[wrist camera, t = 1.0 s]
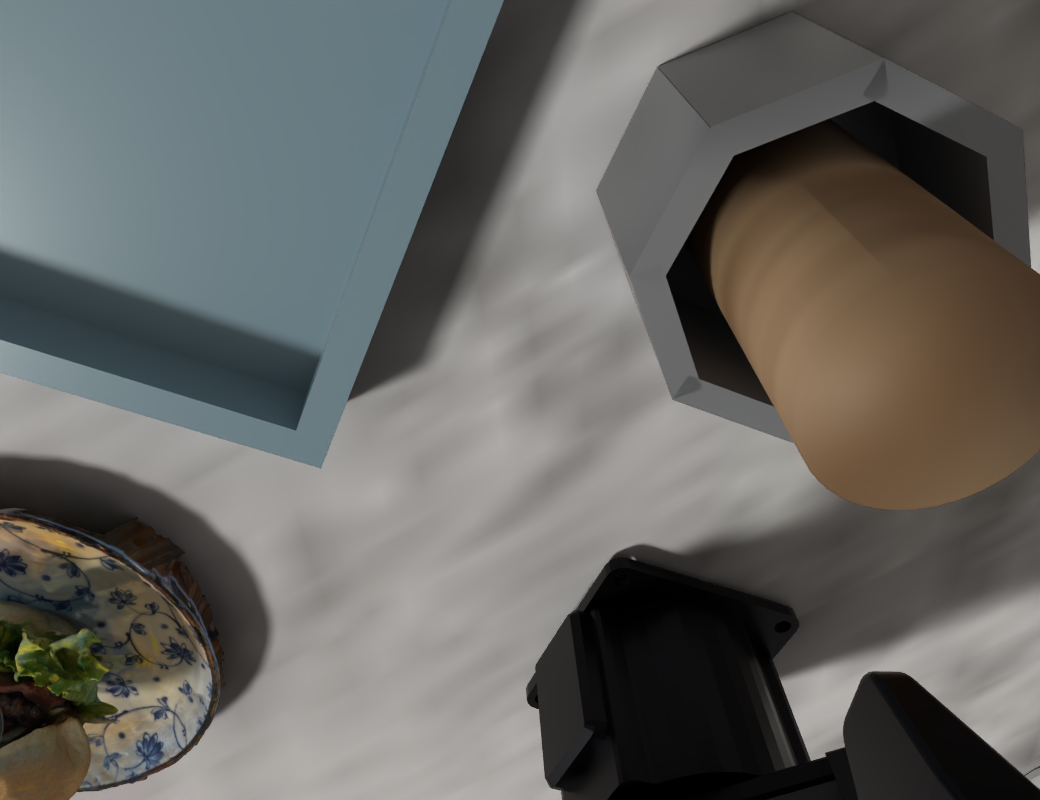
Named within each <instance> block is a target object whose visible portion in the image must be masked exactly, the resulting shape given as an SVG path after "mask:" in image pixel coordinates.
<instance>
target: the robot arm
mask: <svg viewBox="0 0 1040 800" xmlns="http://www.w3.org/2000/svg"><path fill="white" fill-rule="evenodd" d="M620 574H626V575H625V576H622V577H616V576H617V575H620ZM782 621H783V622H782ZM798 627H799V621H798V619H797V617H796V614H795V612H794V611H793V609H792V608H790V607H788V606H785V605H782V604H779V603H775V602H772V601H769V600H765V599H762V598H759V597H755V596H752V595H749V594H745V593H742V592H739V591H735V590H732V589H729V588H725V587H722V586H719V585H715V584H712V583H708V582H705V581H702V580H698V579H695V578H692V577H688V576H685V575H682V574H678V573H675V572H672V571H668V570H665V569H662V568H658V567H655V566H652V565H648V564H645V563H641V562H638V561H635V560H631V559H628V558H617V559H613V560H611V561H609V562H608V563H607V564H606V565H605V566H604V568H603V570H602V571H601V573H600V574H599V576H598V577H597V579H596V580H595V582H594V583H593V585H592V586H591V588H590V590H589V591H588V593H587V594H586V596H585V597H584V599H583V600H582V602H581V603H580V605H579V606H578V608H577V609H576V610H574V611H573V612H571V613H570V614H569V615H568V616H567V617H566V619H565V620H564V622H563V624H562V625H561V627H560V628H559V630H558V631H557V633H556V634H555V636H554V637H553V639H552V641H551V642H550V644H549V645H548V647H547V648H546V650H545V651H544V653H543V654H542V656H541V658H540V659H539V661H538V662H537V664H536V668H535V669H536V673H535V674H534V676H533V677H532V679H531V680H530V682H529V683H528V685H527V688H526V694H527V702H528V704H529V705H530V706H531V707H534V708H536V709H539V715H540V726H541V737H542V749H543V760H544V772H545V779H546V781H547V783H548V785H549V787H550V788H552V789H557V790H561V794H562V800H1040V789H1039V788H1038V787H1037V786H1036V785H1034V784H1033V783H1032V782H1031V781H1030V780H1029V779H1028V778H1026V777H1025V776H1024V775H1023V774H1022V773H1021V772H1020V771H1018V770H1017V769H1016V768H1015V767H1014V766H1013V765H1012V764H1010V763H1009V762H1008V761H1007V760H1006V759H1005V758H1004V757H1002V756H1001V755H1000V754H999V753H998V752H997V751H996V750H994V749H993V748H992V747H991V746H990V745H989V744H988V743H986V742H985V741H984V740H983V739H982V738H981V737H980V736H978V735H977V734H976V733H975V732H974V731H973V730H972V729H970V728H969V727H968V726H967V725H966V724H965V723H964V722H962V721H961V720H960V719H959V718H958V717H957V716H956V715H954V714H953V713H952V712H951V711H950V710H949V709H948V708H946V707H945V706H944V705H943V704H942V703H941V702H940V701H938V700H937V699H936V698H935V697H934V696H933V695H932V694H930V693H929V692H928V691H927V690H926V689H925V688H924V687H922V686H921V685H920V684H919V683H918V682H917V681H916V680H914V679H913V678H912V677H910V676H909V675H907V674H905V673H902V672H877V671H873V672H868V673H867V674H866V675H864V676H863V678H862V679H861V681H860V684H859V686H858V689H857V691H856V693H855V696H854V698H853V701H852V703H851V705H850V708H849V710H848V712H847V715H846V717H845V721H844V726H843V737H844V743H845V747H844V748H840V749H837V750H833V751H830V752H826V753H825V754H826V757H823V758H820V759H816V760H813V761H811V760H810V757H809V755H808V752H807V749H806V747H805V744H804V742H803V739H802V736H801V734H800V731H799V728H798V726H797V723H796V721H795V718H794V715H793V713H792V710H791V707H790V705H789V702H788V699H787V697H786V694H785V692H784V689H783V686H782V684H781V681H780V678H779V676H778V673H777V670H776V668H775V665H774V663H773V660H772V659H773V658H774V657H775V656H776V654H777V653H778V652H779V651H780V650H781V649H782V647H783V646H784V645H785V644H786V643H787V641H788V640H789V639H790V638H791V637H792V636H793V634H794V633H795V632H796V631H797V629H798ZM2 733H3V715H2V711H1V708H0V741H1V738H2Z"/></svg>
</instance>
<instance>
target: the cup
mask: <svg viewBox="0 0 1040 800" xmlns="http://www.w3.org/2000/svg"><path fill="white" fill-rule="evenodd" d="M827 119H831V120H832V121H834V122H835V123H836V124H838V125H839V126H840V127H842V128H843V129H845V130H846V131H847V132H849V133H850V134H851V135H853V136H854V137H855V138H857V139H858V140H859V141H861V142H862V143H863V144H865V145H866V146H867V147H869V148H870V149H871V150H873V151H874V152H875V153H877V154H878V155H880V156H881V157H882V158H884V159H885V160H886V161H888V162H889V163H890V164H892V165H893V166H894V167H896V168H897V169H898V170H900V171H901V172H902V173H904V174H905V175H906V176H908V177H909V178H910V179H912V180H913V181H915V182H916V183H917V184H919V185H920V186H921V187H923V188H924V189H925V190H927V191H928V192H929V193H931V194H932V195H933V196H935V197H936V198H937V199H939V200H940V201H941V202H943V203H944V204H946V205H947V206H948V207H950V208H951V209H952V210H954V211H955V212H956V213H958V214H959V215H960V216H962V217H963V218H964V219H966V220H967V221H968V222H970V223H971V224H972V225H974V226H975V227H976V228H978V229H979V230H981V231H982V232H983V233H985V234H986V235H987V236H989V237H990V238H991V239H993V240H994V241H995V242H997V243H998V244H999V245H1001V246H1002V247H1003V248H1005V249H1006V250H1007V251H1009V252H1010V253H1011V254H1013V255H1014V256H1016V257H1017V258H1018V259H1020V260H1021V261H1022V262H1024V263H1025V264H1026V265H1028V266H1029V267H1030V268H1031V259H1030V242H1029V226H1028V210H1027V194H1026V178H1025V162H1024V146H1023V130H1022V129H1021V128H1019V127H1017V126H1015V125H1014V124H1012V123H1010V122H1008V121H1006V120H1004V119H1002V118H1000V117H998V116H996V115H994V114H992V113H990V112H988V111H986V110H984V109H983V108H981V107H979V106H977V105H975V104H973V103H971V102H969V101H967V100H965V99H963V98H961V97H959V96H957V95H955V94H953V93H951V92H950V91H948V90H946V89H944V88H942V87H940V86H938V85H936V84H934V83H932V82H930V81H928V80H926V79H924V78H922V77H920V76H918V75H917V74H915V73H913V72H911V71H909V70H907V69H905V68H903V67H901V66H899V65H897V64H895V63H893V62H891V61H889V60H887V59H886V58H884V57H882V56H880V55H878V54H876V53H874V52H872V51H870V50H868V49H866V48H864V47H862V46H860V45H858V44H856V43H854V42H852V41H850V40H848V39H846V38H844V37H842V36H840V35H838V34H836V33H834V32H832V31H830V30H828V29H826V28H824V27H822V26H820V25H818V24H816V23H814V22H812V21H810V20H808V19H806V18H804V17H802V16H800V15H798V14H796V13H794V12H790V13H787V14H785V15H782V16H780V17H778V18H775V19H773V20H770V21H768V22H765V23H763V24H761V25H758V26H756V27H753V28H751V29H748V30H746V31H743V32H741V33H739V34H736V35H734V36H731V37H729V38H726V39H724V40H722V41H719V42H717V43H714V44H712V45H709V46H707V47H705V48H702V49H700V50H697V51H695V52H692V53H690V54H687V55H685V56H683V57H680V58H678V59H675V60H673V61H670V62H668V63H666V64H663V65H661V66H658V67H657V69H656V71H655V73H654V75H653V77H652V79H651V81H650V83H649V85H648V87H647V89H646V91H645V93H644V95H643V97H642V99H641V101H640V103H639V105H638V107H637V109H636V111H635V113H634V115H633V117H632V119H631V121H630V123H629V125H628V127H627V129H626V131H625V133H624V135H623V137H622V139H621V141H620V143H619V145H618V147H617V149H616V152H615V154H614V156H613V158H612V160H611V162H610V164H609V166H608V168H607V170H606V172H605V174H604V176H603V178H602V180H601V182H600V184H599V186H598V188H597V194H598V197H599V200H600V203H601V205H602V208H603V211H604V214H605V217H606V220H607V222H608V225H609V228H610V231H611V234H612V237H613V240H614V242H615V245H616V248H617V251H618V254H619V257H620V259H621V262H622V265H623V268H624V271H625V274H626V277H627V279H628V282H629V285H630V288H631V291H632V294H633V296H634V299H635V302H636V304H637V307H638V310H639V312H640V315H641V318H642V320H643V323H644V326H645V328H646V331H647V334H648V336H649V339H650V342H651V344H652V347H653V349H654V352H655V355H656V357H657V360H658V363H659V365H660V368H661V371H662V373H663V376H664V379H665V381H666V384H667V387H668V389H669V392H670V395H671V397H672V399H673V400H675V401H678V402H681V403H683V404H686V405H689V406H692V407H695V408H697V409H700V410H703V411H706V412H709V413H711V414H714V415H717V416H720V417H722V418H725V419H728V420H731V421H734V422H736V423H739V424H742V425H745V426H748V427H750V428H753V429H756V430H759V431H762V432H764V433H767V434H770V435H773V436H775V437H778V438H781V439H784V440H787V441H789V442H792V443H793V440H792V438H791V436H790V434H789V433H788V431H787V429H786V427H785V425H784V424H783V422H782V420H781V418H780V416H779V414H778V413H777V411H776V409H775V407H774V405H773V404H772V402H771V400H770V398H769V396H768V395H767V393H766V391H765V389H764V387H763V386H762V384H761V382H760V380H759V378H758V377H757V375H756V373H755V371H754V369H753V368H752V366H751V364H750V362H749V360H748V359H747V357H746V355H745V353H744V351H743V350H742V348H741V346H740V344H739V342H738V341H737V339H736V337H735V335H734V333H733V331H732V330H731V328H730V326H729V324H728V322H727V321H726V319H725V317H724V315H723V313H722V312H721V310H720V308H719V306H718V304H717V303H716V301H715V299H714V297H713V295H712V294H711V292H710V290H709V288H708V286H707V285H706V283H705V281H704V279H703V277H702V276H701V274H700V272H699V270H698V268H697V267H696V265H695V263H694V261H693V259H692V258H691V256H690V254H689V252H688V250H687V248H686V247H685V245H684V243H685V241H686V239H687V237H688V236H689V234H690V232H691V230H692V229H693V227H694V225H695V223H696V221H697V220H698V218H699V216H700V214H701V213H702V211H703V209H704V207H705V206H706V204H707V202H708V200H709V199H710V197H711V195H712V193H713V192H714V190H715V188H716V186H717V184H718V183H719V181H720V179H721V177H722V176H723V174H724V172H725V170H726V169H727V167H728V165H729V163H730V162H731V160H732V158H733V156H734V155H737V154H739V153H742V152H744V151H747V150H750V149H752V148H755V147H757V146H760V145H762V144H765V143H768V142H770V141H773V140H775V139H778V138H780V137H783V136H786V135H788V134H791V133H793V132H796V131H798V130H801V129H804V128H806V127H809V126H811V125H814V124H816V123H819V122H822V121H824V120H827Z"/></svg>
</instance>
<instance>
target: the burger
mask: <svg viewBox="0 0 1040 800" xmlns="http://www.w3.org/2000/svg"><path fill="white" fill-rule="evenodd" d="M136 519H137V518H135V519H133V520H132V521H130V522H129V523H126V524H124V525H122V526H119V527H117V528H115V529H113V530H112V531H110V532H109V533H107V534H99V533H96V532H93V531H87V530H85V529H84V528H80V527H78V526H76V525H71V524H68V523H66V522H65V521H63V520H60V519H57V518H54V517H46V516H43V515H41V514H38V513H35V511H33V510H27V509H20V508H10V509H2V510H0V708H1V711H2V715H3V733H2V738H1V741H0V800H69V799H70V798H71V797H72V796H73V795H74V794H75V793H76V792H83V791H100V790H103V789H108V788H111V787H117V786H119V785H123V784H127V783H132V784H133V783H134V782H136V781H142V780H145V779H147V776H149V775H151V774H154V773H157V772H159V771H161V770H163V769H164V768H167V767H169V766H171V765H173V764H175V763H176V762H177V761H179V760H180V759H181V758H182V757H183V756H184V755H186V753H187V752H189V751H190V750H191V749H192V748H193V747H194V746H195V745H197V744H198V742H199V741H200V739H201V738H202V736H203V735H204V733H205V731H206V729H208V727H209V726H210V724H211V722H212V720H213V718H214V716H215V711H216V709H217V706H218V704H219V702H218V701H219V700H220V688H221V687H222V686H225V683H223V682H221V680H222V678H223V677H224V676H223V674H222V673H221V671H222V666H221V664H222V661H224V659H222V658H221V657H222V655H224V652H223V651H222V647H220V646H219V644H218V643H219V641H218V639H217V636H218V631H217V629H216V627H215V626H214V624H213V619H212V613H211V609H210V608H209V604H208V603H207V602H206V599H205V595H202V594H201V590H200V589H199V587H198V582H197V581H196V580H195V579H193V577H191V576H190V575H189V570H188V569H187V567H184V566H183V564H182V563H181V562H179V560H178V558H179V557H180V556H181V555H182V554H184V552H183V551H181V550H180V549H179V548H178V547H175V546H173V545H172V544H171V543H170V542H169V538H168V539H166V538H163V537H162V536H161V535H160V536H159V535H157V534H155V531H154V529H153V528H151V527H148V526H145V525H143V524H142V523H140V522H138V521H137V520H136Z"/></svg>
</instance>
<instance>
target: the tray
mask: <svg viewBox="0 0 1040 800" xmlns="http://www.w3.org/2000/svg"><path fill="white" fill-rule="evenodd" d="M503 2H504V0H0V373H3V374H6V375H10V376H13V377H17V378H20V379H23V380H27V381H30V382H33V383H37V384H40V385H43V386H47V387H50V388H53V389H57V390H60V391H64V392H67V393H70V394H74V395H77V396H80V397H84V398H87V399H90V400H94V401H97V402H100V403H104V404H107V405H110V406H114V407H117V408H121V409H124V410H127V411H131V412H134V413H137V414H141V415H144V416H147V417H151V418H154V419H157V420H161V421H164V422H167V423H171V424H174V425H178V426H181V427H184V428H188V429H191V430H194V431H198V432H201V433H204V434H208V435H211V436H214V437H218V438H221V439H225V440H228V441H231V442H235V443H238V444H241V445H245V446H248V447H251V448H255V449H258V450H261V451H265V452H268V453H271V454H275V455H278V456H282V457H285V458H288V459H292V460H295V461H298V462H302V463H305V464H308V465H312V466H315V467H318V468H321V467H322V464H323V462H324V459H325V456H326V454H327V451H328V449H329V446H330V444H331V441H332V439H333V436H334V433H335V431H336V428H337V426H338V423H339V421H340V418H341V416H342V413H343V410H344V408H345V405H346V403H347V400H348V398H349V395H350V393H351V390H352V387H353V385H354V382H355V380H356V377H357V375H358V372H359V370H360V367H361V364H362V362H363V359H364V357H365V354H366V352H367V349H368V347H369V344H370V341H371V339H372V336H373V334H374V331H375V329H376V326H377V324H378V321H379V318H380V316H381V313H382V311H383V308H384V306H385V303H386V301H387V298H388V295H389V293H390V290H391V288H392V285H393V283H394V280H395V278H396V275H397V272H398V270H399V267H400V265H401V262H402V260H403V257H404V255H405V252H406V249H407V247H408V244H409V242H410V239H411V237H412V234H413V232H414V229H415V226H416V224H417V221H418V219H419V216H420V214H421V211H422V209H423V206H424V203H425V201H426V198H427V196H428V193H429V191H430V188H431V186H432V183H433V180H434V178H435V175H436V173H437V170H438V168H439V165H440V163H441V160H442V157H443V155H444V152H445V150H446V147H447V145H448V142H449V140H450V137H451V134H452V132H453V129H454V127H455V124H456V122H457V119H458V117H459V114H460V111H461V109H462V106H463V104H464V101H465V99H466V96H467V94H468V91H469V88H470V86H471V83H472V81H473V78H474V76H475V73H476V71H477V68H478V65H479V63H480V60H481V58H482V55H483V53H484V50H485V48H486V45H487V42H488V40H489V37H490V35H491V32H492V30H493V27H494V25H495V22H496V19H497V17H498V14H499V12H500V9H501V7H502V4H503Z"/></svg>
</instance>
